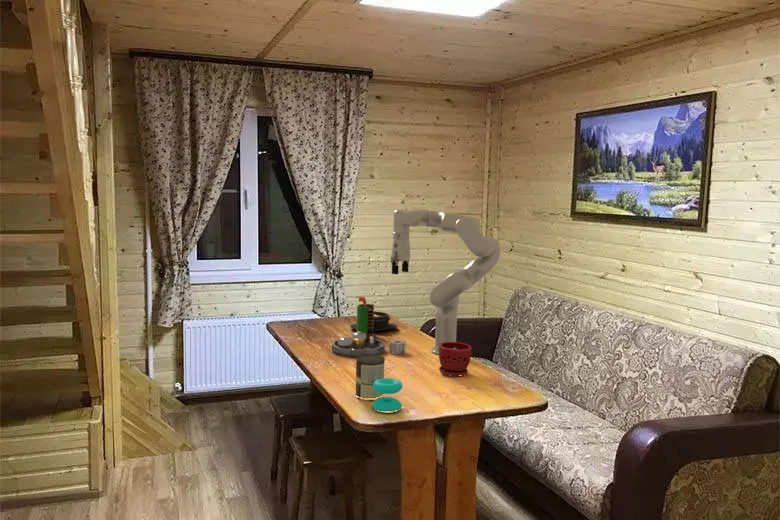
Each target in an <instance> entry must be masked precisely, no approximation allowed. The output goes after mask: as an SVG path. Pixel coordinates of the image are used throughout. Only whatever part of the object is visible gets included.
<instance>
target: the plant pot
mask: <svg viewBox="0 0 780 520" xmlns="http://www.w3.org/2000/svg"><path fill="white" fill-rule="evenodd" d="M449 348H451V349H449ZM453 348H457V350H455V349H453ZM471 358H472V346H471V345H470V344H467V343H465V342H458V341H456V342H443V343H441V344H440V345H439V354H438V360H439V363H440V367H438V370H439V372H440V373H441V374H442V373H443V374H442V375H444V374H445V375H444V376H447V375H451V376H450V377H452V376H459V375H464V374H465V375H467V374H468V371H469V370H468V367H469V364H470V361H471ZM465 375H464V376H465ZM459 377H460V376H459Z"/></svg>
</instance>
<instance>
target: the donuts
mask: <svg viewBox="0 0 780 520" xmlns="http://www.w3.org/2000/svg"><path fill="white" fill-rule="evenodd" d="M373 388H374V390H375V391H377V392H379V393H382V394H384V395H393V394H397V393H399V392H401V391H402V389H403V383H402V381H401V380H399V379H396V378H392V377H384V378H381V379H378V380H376V381H374V383H373ZM371 406H372V409H373V408H374V409H376V410H379V411H395V410H399V409H402V408H401V407H402V406H403V403H402V402H401V401H400V400H399V399H398V398H395V397H392V396H384V397H381V398H378V399H376V400H375V401H372V405H371ZM374 409H373V410H374Z"/></svg>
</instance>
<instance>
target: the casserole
mask: <svg viewBox="0 0 780 520" xmlns="http://www.w3.org/2000/svg"><path fill="white" fill-rule="evenodd" d="M373 318H374V321H373V322H374V324H373V325H374V327H373V332H374V333H381V332H385V331H387V330H393V329H397V328H398V325H397V324H395V323H392V322H390V320H391V317H390V316H389V313H387V312H384V311H374V317H373ZM356 326H357V323H353V324H350V326H349V327H350V328H351V329H352V330H356Z"/></svg>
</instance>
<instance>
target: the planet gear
mask: <svg viewBox="0 0 780 520" xmlns="http://www.w3.org/2000/svg"><path fill="white" fill-rule="evenodd" d="M388 343H389V344H388V345H389V346H388V349H389V350H388V353H389V354H392V355H393V354H395V355H398V354H401V355H405V354H406V352H407V351H406V348H407V347H406V346H407V343H406V341H405V340H402V339H401V340H398V339H394V340H389V342H388ZM402 353H403V354H402ZM404 353H405V354H404Z"/></svg>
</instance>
